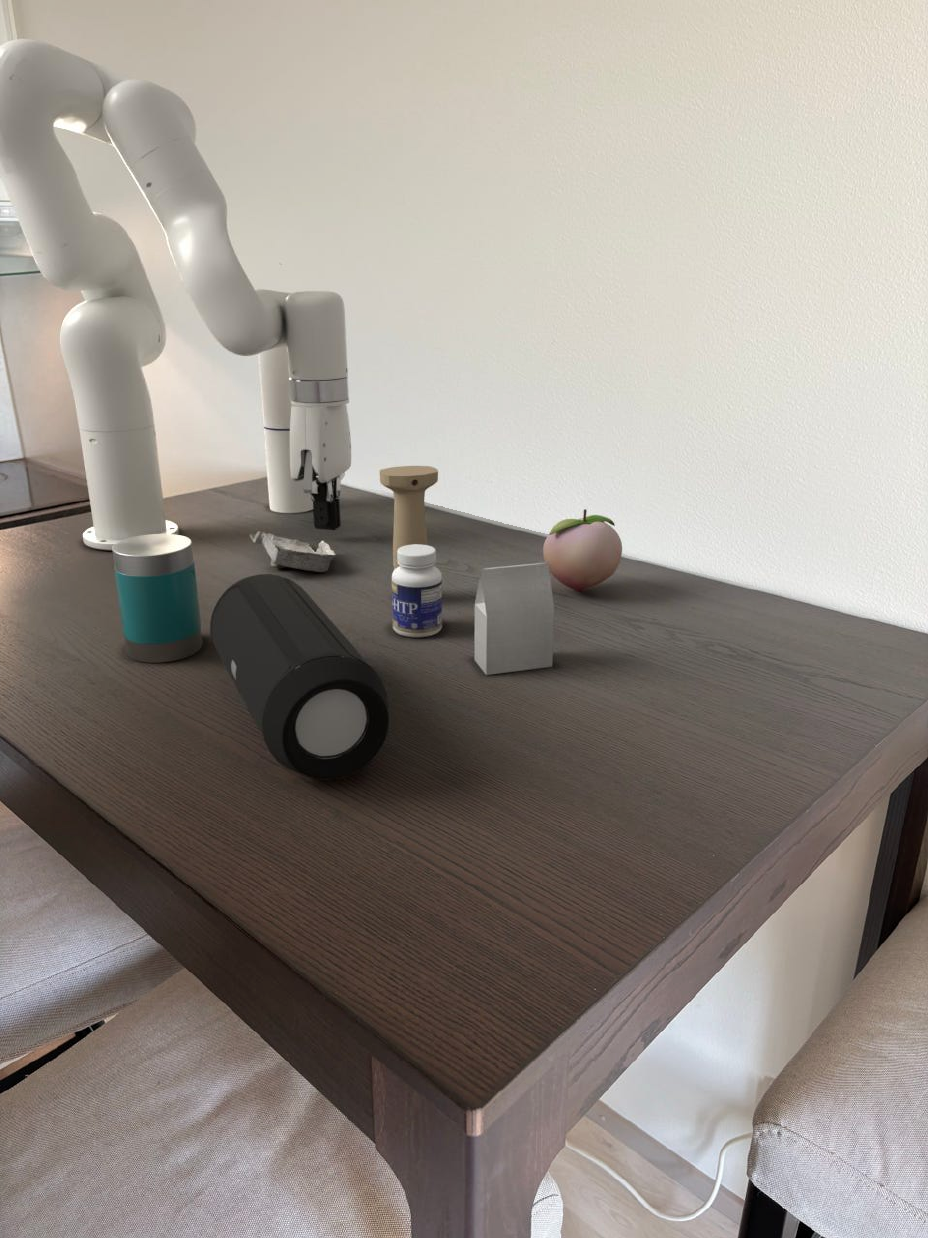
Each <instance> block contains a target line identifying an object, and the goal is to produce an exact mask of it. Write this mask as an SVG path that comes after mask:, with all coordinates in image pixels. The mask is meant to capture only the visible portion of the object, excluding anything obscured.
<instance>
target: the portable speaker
mask: <svg viewBox="0 0 928 1238" xmlns="http://www.w3.org/2000/svg"><path fill="white" fill-rule="evenodd" d="M210 617H211V618H210V622H209V623H210V625H209V633H210V638H211V642H212V645H213V647H214V649H215V651H216V652H217V654H218V656H219V657H220V659H221V661H222V662H223V665H224V666H225V669H226V670H227V672H228V674H229V676H230V678H231V679H232V682H233V683H234V685H235V687H236V689H237V691H238V693H239V695H240V697H241V698H242V700H243V702H244V704H245V706H246V708H247V710H248V711H249V714H250V715H251V717H252V720H253V721H254V723H255V725H256V727H257V729H258V731H259V733H260V734H261V736H262V738H263V740H264V743H265V745H266V747H267V750H268V752H269V753H270V754H271V756H272V757H273V758H274V759H275V761H277V763H278V764H280V765H281V766H283V767H285V768H286V769H288V770H289V771H292V772H295V773H297V774H300V775H302V776H305V777H308V778H311V779H314V780H319V781H320V780H321V781H333V780H339V779H343V778H346V777H349V776H352V775H353V774H355V773H357V772H358V771H361V769H363V768H365V767H366V766H367V765H369V764H370V763H371V761H372V760H374V758H375V757H376V756H378V754H379V752H380V751H381V749H382V748H383V746H384V743H385V742H386V738H387V736H388V732H389V725H390V712H389V711H390V710H389V709H390V708H389V697H388V693H387V692H388V691H387V690H386V687H385V685H384V682H383V680H382V678H381V677H380V676H379V674H378V673H377V672H376V671H375V669H374V668H373V667H372V666H371V665H370V663H369V662H368V661H367V660H366V658H364V656H362V654H361V653H360V652H359V650H358V649H357V648H356V647H355V646H354V645H353V644H352V643H351V642H350V641H349V639H348V638H347V637H346V636H345V635H344V634H343V633H342V631H341V630H340V629H339V628H338V627H337V625H335V624H334V622H333V621H332V620H331V619H330V618H329V617H328V615H327V614H326V613H325V611H323V610H322V609H321V608H320V606H319V605H318V604H317V602H315V600H314V599H313V598H312V597H311V595H309V594H308V592H307V591H306V590H305V589H304V588H303V587H301V586H300V585H299V584H298V583H296V582H295V581H293V580H291V579H290V578H289V577H288V578H287V577H285V576H283V575H282V576H281V575H277V574H272V573H262V574H255V575H249V576H247V577H243V578H241V579H239V580H237V581H236V582H234V583H232V584H231V585H230V586H228V587H227V588H226V590H225V591H223V593H222V594H221V596H220V597H219V598H218V600H217V601H216V604H215V606H214V608H213V610H212V614H211V616H210Z"/></svg>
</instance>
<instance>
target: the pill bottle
mask: <svg viewBox="0 0 928 1238" xmlns="http://www.w3.org/2000/svg"><path fill="white" fill-rule="evenodd" d="M397 560H398V564H399V565H400V566H399V567H398V568H396V569H395V570H394V569H393V571H392V574H391V606H392V607H391V608H392V610H391V611H392V629H393V631H395V633H396V634H398V635H400V636H402V637H407V638H427V637H431V636H434V635H436V634H438V633H440V632H441V630H442V628H443V574H442V572H441V570H440V569H439V568H438V567H436V566H435V564H436V563H437V551H436V548H435V547H434V546H432V545H429V544H427V545H421V544H413V545H406V546H402V547H400V548H399V549H398V551H397Z"/></svg>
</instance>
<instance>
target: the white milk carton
mask: <svg viewBox="0 0 928 1238" xmlns="http://www.w3.org/2000/svg"><path fill="white" fill-rule="evenodd" d="M478 578H479V579H478V585H477V590H476V596H475V601H474V662H475V663H476V664H477V666H479V669H480V670H481V671H482V672H483V674H485V676H490V675H497V674H503V673H504V674H505V673H506V674H507V673H512V672H520V671H521V672H523V671H528V670H536V669H545V668H553V656H554V655H553V654H554V633H555V632H554V628H555V605H554V603H555V602H554V597H553V590H552V582H551V581H552V580H551V572H550V570H549V563H548V562H545V561H544V562H535V563H524V564H515V565H504V566H494V567H484V568H479V577H478Z"/></svg>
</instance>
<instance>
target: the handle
mask: <svg viewBox="0 0 928 1238" xmlns="http://www.w3.org/2000/svg"><path fill="white" fill-rule="evenodd" d="M438 480H439V469H438V468H436V467H434V466H429V465H401V466H392V467H385V468H382V469H380V470H379V482H380V484H381V485H382V486H384V487H385V488H387V489H389V490H391V491H392V492H393V499H394V501H393V502H394V503H393V504H394V506H393V533H392V534H393V537H392V564H393V571H394V570H395V569H396V568H398V567H399V566H400V565H399V564H398V560H397V551H398V549H399V548H400V547H402V546H406V545H413V544H421V545H428V535H427V533H428V532H427V523H426V505H425V504H426V503H425V496H426V491H427V490H428V489H430V488H431V487H432V486H434V485H435V484H437V483H438Z"/></svg>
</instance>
